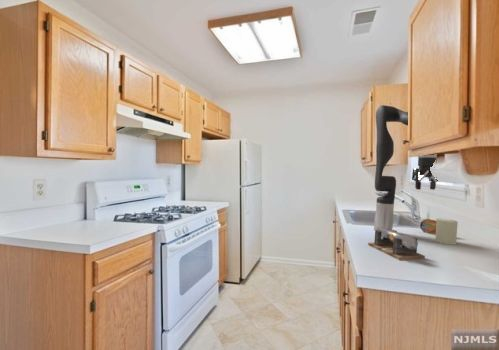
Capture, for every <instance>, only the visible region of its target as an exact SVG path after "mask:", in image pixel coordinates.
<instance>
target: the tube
mask: <svg viewBox="0 0 499 350" xmlns="http://www.w3.org/2000/svg"><path fill="white" fill-rule="evenodd" d="M377 230H379V231H382V234H381V238H384V239H386V240H388V241H391V242H393V238H400V239H401V246H403V247H405V248H408V249H410V250H414V249H416V248H417V249H418V246H419V245H418V244H419V242H418V240H416V239H414V238H412V237H413V236H408V235H406V234H403V233H400V232H398V231H397V232H395V231H396V230H395V231H392V230H393V229H392V230H389V229H386V228H384V227H378V228H377Z"/></svg>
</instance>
